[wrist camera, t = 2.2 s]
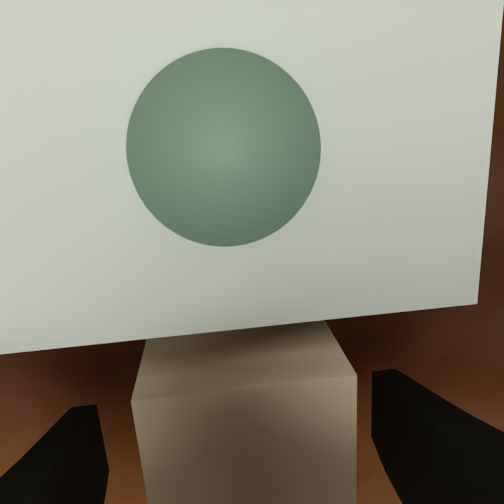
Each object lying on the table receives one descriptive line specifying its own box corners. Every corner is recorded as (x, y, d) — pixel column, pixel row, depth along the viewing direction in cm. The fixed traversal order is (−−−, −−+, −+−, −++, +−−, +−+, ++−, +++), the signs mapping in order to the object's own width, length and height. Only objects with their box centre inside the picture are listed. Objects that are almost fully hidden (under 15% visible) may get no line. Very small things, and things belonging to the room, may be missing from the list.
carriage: (293, 266, 14) (356, 375, 8) (299, 430, 16) (356, 615, 10) (161, 279, 14) (130, 401, 8) (183, 445, 15) (171, 644, 10)
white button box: (391, -11, 12) (537, -109, 7) (385, 240, 14) (494, 315, 9) (4, 8, 11) (-171, -87, 6) (57, 270, 13) (-38, 373, 8)
